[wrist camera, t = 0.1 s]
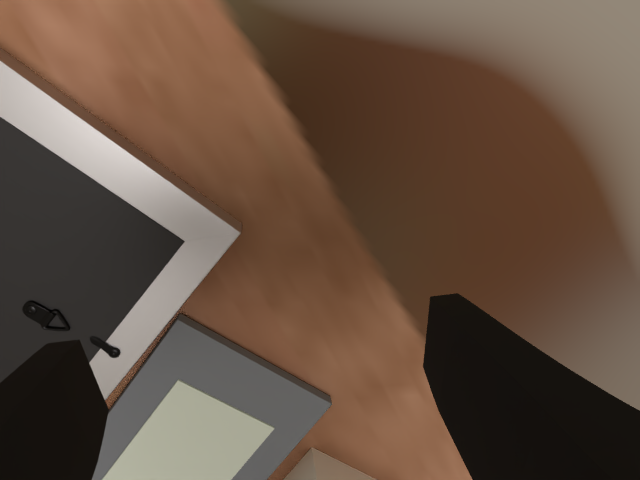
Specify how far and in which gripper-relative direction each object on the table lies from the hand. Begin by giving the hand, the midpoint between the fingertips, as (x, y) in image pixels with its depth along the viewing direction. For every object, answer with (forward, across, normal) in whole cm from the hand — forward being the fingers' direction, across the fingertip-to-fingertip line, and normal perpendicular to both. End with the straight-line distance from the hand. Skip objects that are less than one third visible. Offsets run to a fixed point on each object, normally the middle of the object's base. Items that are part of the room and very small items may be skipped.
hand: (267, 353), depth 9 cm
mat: (+8, +6, +14) cm, 17 cm away
